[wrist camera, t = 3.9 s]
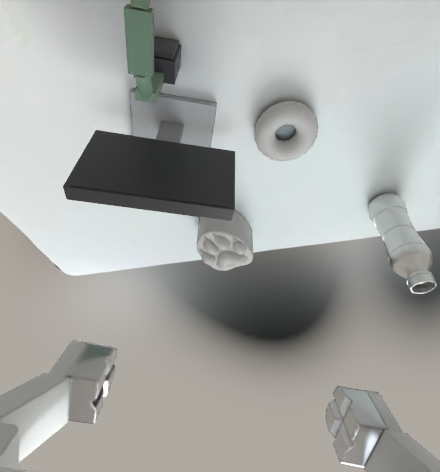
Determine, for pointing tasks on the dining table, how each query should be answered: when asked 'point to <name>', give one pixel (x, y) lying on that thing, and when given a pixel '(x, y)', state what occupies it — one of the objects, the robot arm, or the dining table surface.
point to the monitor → (159, 162)
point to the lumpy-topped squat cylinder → (225, 242)
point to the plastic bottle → (402, 242)
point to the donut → (285, 115)
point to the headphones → (149, 52)
